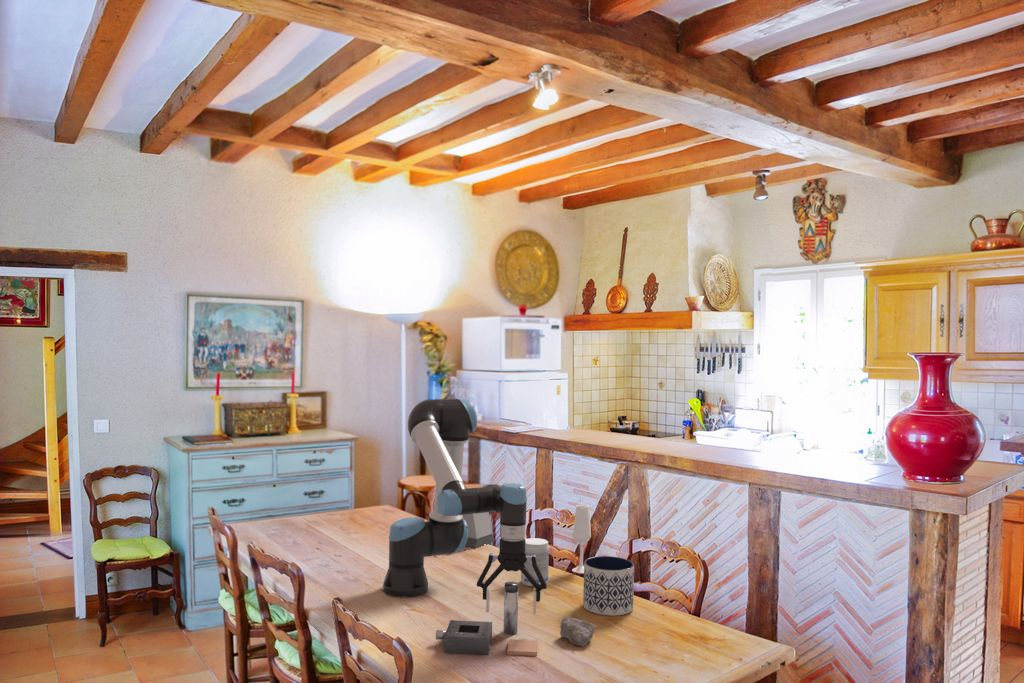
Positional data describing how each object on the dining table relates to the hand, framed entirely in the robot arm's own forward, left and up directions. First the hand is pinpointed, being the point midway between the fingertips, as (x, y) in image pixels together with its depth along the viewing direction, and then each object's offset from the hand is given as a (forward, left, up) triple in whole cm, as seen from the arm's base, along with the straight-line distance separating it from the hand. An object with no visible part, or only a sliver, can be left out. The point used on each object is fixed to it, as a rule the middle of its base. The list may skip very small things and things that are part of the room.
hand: (511, 611), depth 221 cm
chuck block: (-13, -11, -6) cm, 18 cm away
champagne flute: (+23, +63, -6) cm, 67 cm away
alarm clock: (-25, +97, -6) cm, 100 cm away
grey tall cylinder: (0, 0, -6) cm, 6 cm away
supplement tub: (+6, +46, -6) cm, 47 cm away
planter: (+30, +24, -6) cm, 39 cm away
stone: (+19, -4, -6) cm, 20 cm away
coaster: (+4, -12, -6) cm, 14 cm away
